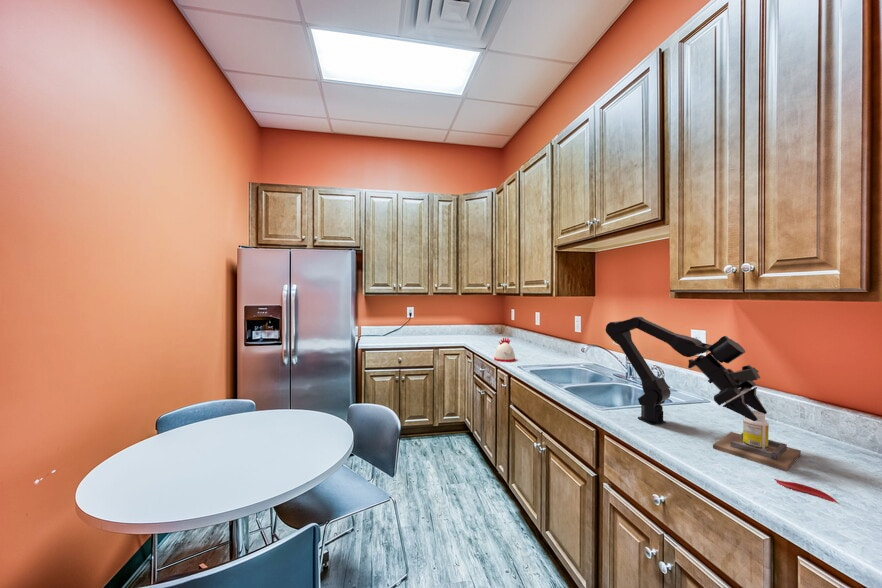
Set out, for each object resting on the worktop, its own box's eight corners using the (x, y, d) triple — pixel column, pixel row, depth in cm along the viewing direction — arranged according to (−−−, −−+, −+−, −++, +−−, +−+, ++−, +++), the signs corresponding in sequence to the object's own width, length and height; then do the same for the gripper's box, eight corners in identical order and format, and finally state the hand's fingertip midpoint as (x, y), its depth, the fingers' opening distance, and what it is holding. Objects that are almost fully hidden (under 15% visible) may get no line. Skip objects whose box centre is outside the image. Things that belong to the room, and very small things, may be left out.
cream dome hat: (518, 361, 229) (518, 338, 229) (499, 362, 226) (499, 339, 226) (509, 357, 243) (509, 335, 243) (491, 358, 239) (490, 336, 239)
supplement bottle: (758, 443, 105) (759, 410, 105) (773, 452, 99) (774, 416, 99) (737, 442, 106) (738, 408, 106) (751, 450, 100) (752, 415, 100)
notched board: (712, 448, 105) (712, 439, 104) (731, 435, 114) (731, 427, 114) (786, 471, 91) (786, 461, 91) (800, 454, 100) (800, 445, 100)
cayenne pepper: (766, 481, 88) (767, 473, 88) (779, 478, 89) (779, 470, 89) (832, 510, 76) (832, 501, 76) (845, 506, 78) (845, 497, 78)
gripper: (727, 360, 100) (779, 409, 91) (748, 353, 111) (796, 397, 102) (695, 381, 107) (740, 429, 98) (717, 373, 118) (760, 415, 109)
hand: (760, 417), depth 102 cm, fingers open, 9 cm apart
